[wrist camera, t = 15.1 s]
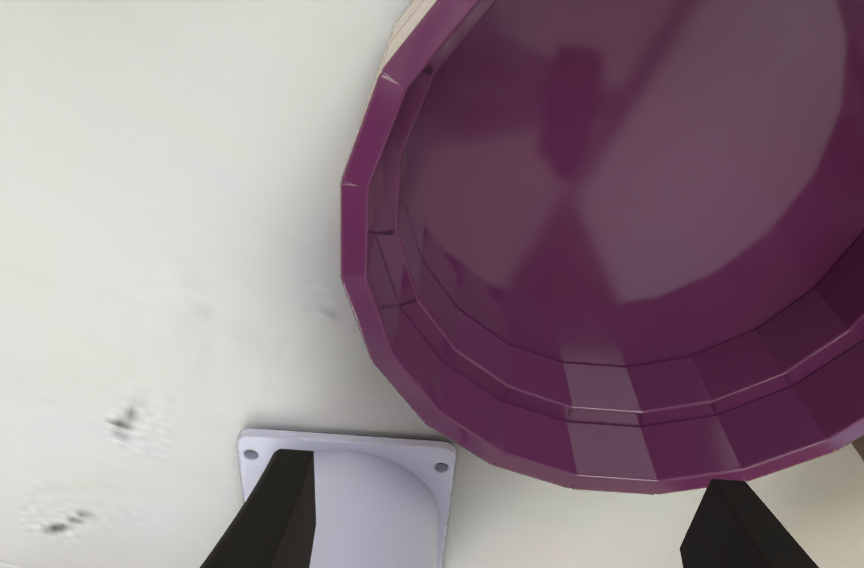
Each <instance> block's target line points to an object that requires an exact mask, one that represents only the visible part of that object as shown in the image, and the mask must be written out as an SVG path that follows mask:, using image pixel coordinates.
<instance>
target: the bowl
mask: <svg viewBox="0 0 864 568" xmlns="http://www.w3.org/2000/svg"><path fill="white" fill-rule="evenodd" d="M340 278H341V280H342V284H343V287H344V290H345V292H346V295H347V298H348V300H349V303H350V305H351V308H352V311H353V313H354V316H355V319H356V321H357V324H358V327H359V329H360V332H361V334H362V337H363V340H364V342H365V345H366V348H367V350H368V353H369V356H370V358H371V360H373V363H374V364H375V366H376V367H377V368H378V369H379V370H380V371H381V373H382V374H383V375H384V376H385V377H386V378H387V380H388V381H389V382H390V383H391V384H392V385H393V387H394V388H395V389H396V390H397V391H398V393H399V394H400V395H401V396H402V397H403V398H404V400H405V401H406V402H407V403H408V404H409V405H410V407H411V408H412V409H413V410H414V411H415V412H416V414H417V415H418V416H419V417H420V418H421V419H422V421H424V422H425V424H427V425H428V426H430V427H431V428H433V429H435V430H436V431H438V432H439V433H441V434H443V435H444V436H446V437H447V438H449V439H451V440H452V441H454V442H455V443H457V444H459V445H460V446H462V447H463V448H465V449H467V450H468V451H470V452H471V453H473V454H475V455H476V456H478V457H479V458H481V459H483V460H484V461H486V462H487V463H489V464H491V465H492V464H493V465H494V466H496V467H500V468H503V469H506V470H510V471H513V472H516V473H519V474H523V475H526V476H529V477H533V478H536V479H539V480H542V481H546V482H549V483H552V484H555V485H559V486H562V487H565V488H571V489H577V490H592V491H607V492H622V493H636V494H651V495H654V494H655V493H656V494H665V493H672V492H680V491H687V490H694V489H701V488H707V487H708V485H709V483H710V480H711V479H723V480H737V481H746V482H748V481H751V480H754V479H757V478H760V477H763V476H766V475H768V474H771V473H774V472H777V471H780V470H783V469H786V468H789V467H792V466H795V465H798V464H800V463H803V462H806V461H809V460H812V459H815V458H818V457H821V456H824V455H827V454H830V453H832V452H834V450H835V451H837V450H839V449H841V448H843V447H844V446H846V445H848V444H850V443H851V442H853V441H855V440H857V439H858V438H860V437H862V436H863V435H864V0H413V1H412V3H411V4H410V5H409V7H408V8H407V9H406V10H405V12H404V13H403V14H402V16H401V17H400V18H399V19H398V21H397V22H396V25H395V27H394V28H393V31H392V34H391V37H390V39H389V42H388V45H387V48H386V50H385V53H384V56H383V59H382V62H381V64H380V67H379V70H378V73H377V75H376V78H375V81H374V84H373V87H372V89H371V92H370V95H369V98H368V101H367V103H366V106H365V109H364V112H363V115H362V118H361V121H360V124H359V127H358V130H357V133H356V136H355V139H354V142H353V145H352V148H351V151H350V154H349V157H348V160H347V163H346V166H345V169H344V172H343V175H342V180H341V183H340Z"/></svg>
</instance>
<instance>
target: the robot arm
mask: <svg viewBox="0 0 864 568" xmlns="http://www.w3.org/2000/svg"><path fill="white" fill-rule="evenodd" d="M237 450H238V458H239V466H240V474H241V483H242V491H243V499H244V505H243V506H242V508H241V509H240V511H239V513H238V514H237V516H236V517H235V519H234V520H233V521H232V523H231V524H230V526H229V527H228V529H227V530H226V532H225V533H224V535H223V536H222V537H221V539H220V540H219V542H218V543H217V545H216V546H215V548H214V549H213V550H212V552H211V553H210V555H209V556H208V557H207V559H206V560H205V561H204V563H203V564H202V565H201V567H200V568H442V560H443V553H444V545H445V538H446V530H447V523H448V515H449V508H450V500H451V493H452V485H453V478H454V470H455V463H456V448H455V447H454V446H453V445H452V444H450V443H448V442H444V441H429V440H415V439H400V438H386V437H371V436H357V435H342V434H328V433H313V432H299V431H284V430H270V429H255V428H249V429H244V430H242V431H241V432H240V433H239V436H238V439H237ZM250 450H254V451H256V452H254V451H250ZM438 463H445V464H438ZM680 552H681V557H682V563H683V568H819V567H818V566H817V565H816V564H815V563H814V562H813V560H812V559H811V558H810V557H809V556H808V555H807V553H806V552H805V551H804V550H803V549H802V548H801V546H800V545H799V544H798V543H797V542H796V541H795V539H794V538H793V537H792V536H791V535H790V534H789V532H788V531H787V530H786V529H785V528H784V527H783V525H782V524H781V523H780V522H779V521H778V519H777V518H776V517H775V516H774V515H773V514H772V512H771V511H770V510H769V509H768V508H767V506H766V505H765V504H764V503H763V502H762V501H761V499H760V498H759V497H758V496H757V495H756V493H755V492H754V491H753V490H752V489H751V488H750V487H749V485H748V484H747V483H746V482H745V481H737V480H723V479H711V480H710V483H709V485H708V487H707V489H706V491H705V494H704V496H703V498H702V500H701V503H700V505H699V507H698V509H697V511H696V514H695V516H694V518H693V520H692V522H691V525H690V527H689V529H688V531H687V534H686V536H685V538H684V540H683V542H682V545H681V547H680Z"/></svg>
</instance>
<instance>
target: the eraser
mask: <svg viewBox="0 0 864 568" xmlns="http://www.w3.org/2000/svg"><path fill="white" fill-rule="evenodd" d="M851 443H852V445H853V446H854V448H855V449H856V451H857V452H858V454H859V455H860V456H861V458H862V459H863V461H864V435H863V436H862V437H860V438H858V439H857V440H855V441H853V442H851Z"/></svg>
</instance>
